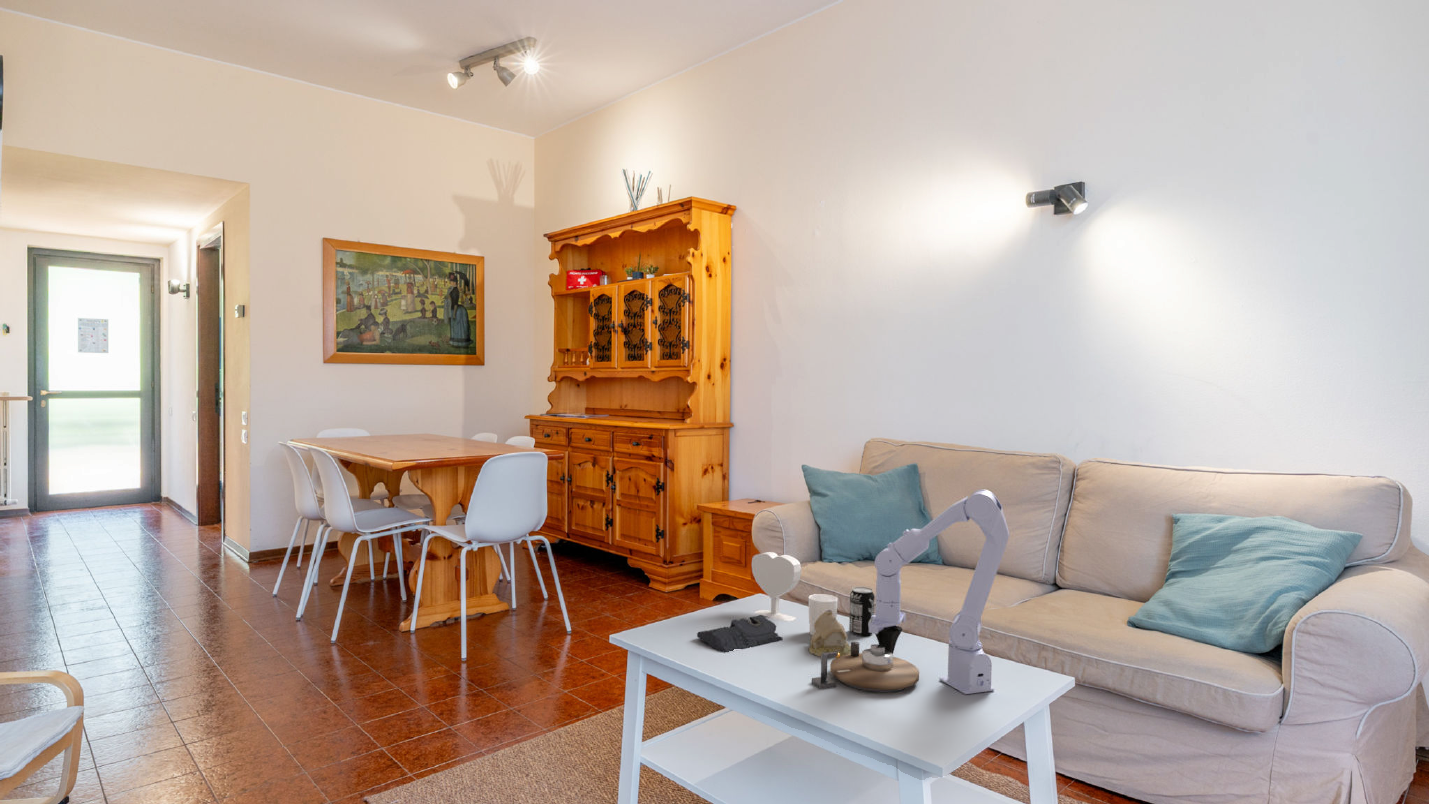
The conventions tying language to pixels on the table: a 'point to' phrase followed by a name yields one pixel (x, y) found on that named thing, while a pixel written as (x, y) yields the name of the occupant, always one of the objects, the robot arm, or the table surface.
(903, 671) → the turntable
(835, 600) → the white cup
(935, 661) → the table surface
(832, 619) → the ceramic model
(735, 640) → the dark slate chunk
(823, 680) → the grey bent lever
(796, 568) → the heart sculpture
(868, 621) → the beverage can
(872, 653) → the cover
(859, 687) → the turntable base
